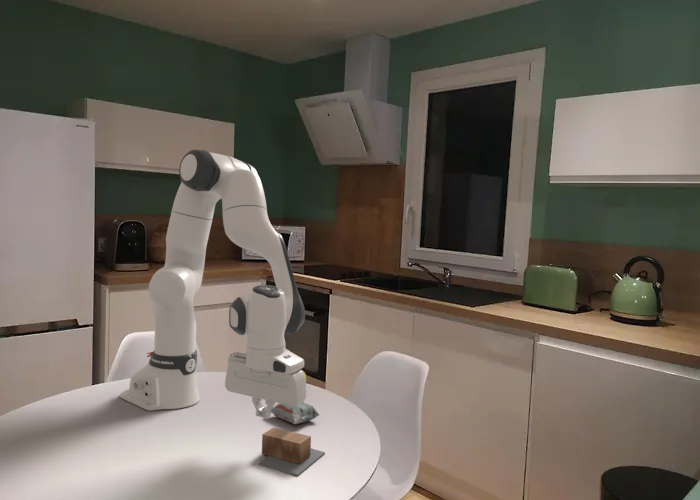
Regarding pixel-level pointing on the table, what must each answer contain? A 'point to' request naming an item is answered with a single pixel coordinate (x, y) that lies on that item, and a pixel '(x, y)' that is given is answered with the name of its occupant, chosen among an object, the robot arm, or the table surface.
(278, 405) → the packaged food
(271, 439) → the pillar
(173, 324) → the robot arm
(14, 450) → the table surface
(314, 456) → the mat
